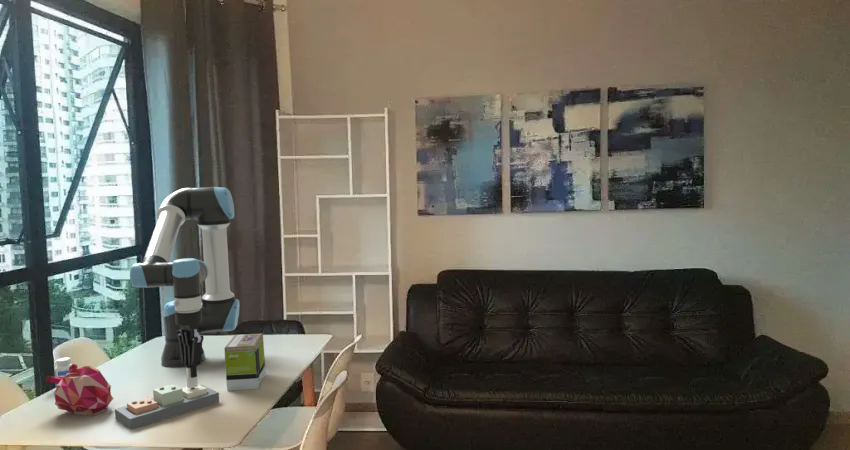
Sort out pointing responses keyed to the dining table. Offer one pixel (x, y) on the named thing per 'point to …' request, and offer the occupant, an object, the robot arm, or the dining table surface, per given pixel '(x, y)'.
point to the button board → (165, 410)
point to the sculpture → (82, 391)
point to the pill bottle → (62, 367)
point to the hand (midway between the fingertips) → (192, 386)
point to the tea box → (245, 362)
